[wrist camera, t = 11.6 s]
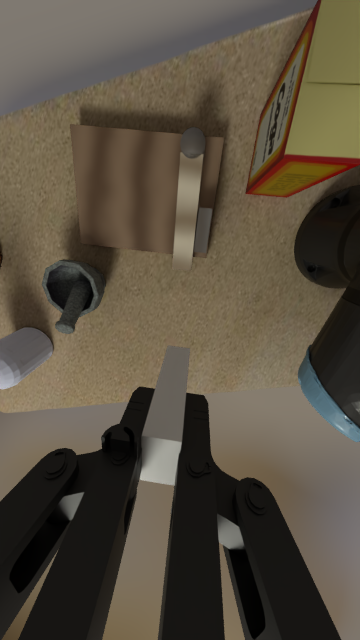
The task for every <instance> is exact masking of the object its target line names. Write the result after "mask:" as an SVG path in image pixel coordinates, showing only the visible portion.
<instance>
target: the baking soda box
mask: <svg viewBox="0 0 360 640" xmlns="http://www.w3.org/2000/svg"><path fill="white" fill-rule="evenodd" d="M358 165H360V0H318V1H317V3H316V5H315V7H314V9H313V11H312V13H311V15H310V17H309V19H308V21H307V23H306V25H305V27H304V29H303V31H302V33H301V35H300V37H299V39H298V41H297V43H296V45H295V47H294V49H293V51H292V53H291V55H290V57H289V59H288V61H287V63H286V65H285V67H284V69H283V71H282V73H281V75H280V77H279V79H278V81H277V83H276V85H275V87H274V89H273V91H272V93H271V95H270V97H269V99H268V101H267V103H266V105H265V107H264V109H263V111H262V113H261V115H260V120H259V125H258V131H257V136H256V141H255V146H254V152H253V157H252V162H251V167H250V173H249V178H248V183H247V188H246V194H254V195H265V196H276V197H289V196H291V195H293V194H296V193H298V192H300V191H302V190H304V189H307V188H309V187H311V186H313V185H316V184H318V183H320V182H322V181H324V180H327V179H329V178H331V177H333V176H336V175H338V174H340V173H342V172H344V171H347V170H349V169H351V168H353V167H356V166H358Z"/></svg>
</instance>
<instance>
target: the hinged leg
mask: <svg viewBox="0 0 360 640" xmlns="http://www.w3.org/2000/svg"><path fill="white" fill-rule="evenodd" d="M180 146H181V151H182V152H180V166H179V180H178V194H177V208H176V222H175V236H174V250H173V264H172V269H174V270H183V271H191V268H192V259H193V250H194V241H195V232H196V223H197V213H198V204H199V195H200V186H201V177H202V168H203V158H204V155H205V136H204V134H203V132H202V131H201V130H200V129H199V128H196V127H191V128H189V129H187V130H186V131H185V132H184V133H183V135H182V137H181V142H180Z"/></svg>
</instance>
